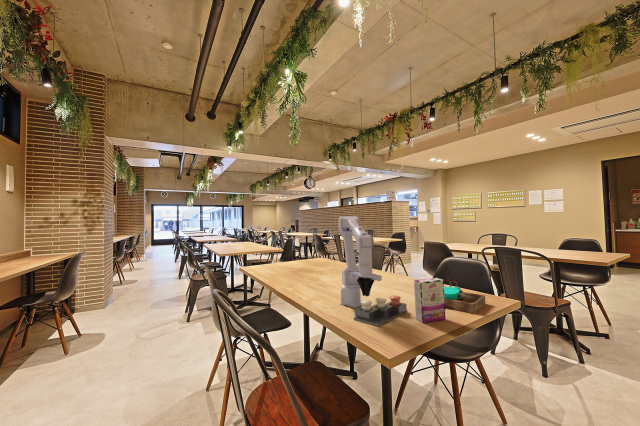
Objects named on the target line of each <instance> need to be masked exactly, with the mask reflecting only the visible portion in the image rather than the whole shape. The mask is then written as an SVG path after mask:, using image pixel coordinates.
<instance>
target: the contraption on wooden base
mask: <svg viewBox="0 0 640 426" xmlns="http://www.w3.org/2000/svg"><path fill="white" fill-rule="evenodd" d="M447 282H448V283H449V286H444V299H450V300H456V301H461V302H467V303H472V302H470V300H468V299H471V296H467V295H465V294H464V292H465V291H463V290H461V287H460V286H459V284H458V282H457V281H456V280H454V279H452V278H447ZM452 283H453V284H454V286H452ZM465 298H466V299H465ZM445 309H448V310H454V308H452V307H451V306H449V305H446V306H445Z"/></svg>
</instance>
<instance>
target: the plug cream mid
mask: <svg viewBox="0 0 640 426" xmlns="http://www.w3.org/2000/svg"><path fill="white" fill-rule="evenodd" d="M375 302H376V304H377V308H381V309H384V308H386V304H387V298H384V297H376V298H375Z"/></svg>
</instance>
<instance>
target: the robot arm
mask: <svg viewBox="0 0 640 426" xmlns="http://www.w3.org/2000/svg"><path fill="white" fill-rule="evenodd" d="M337 226H338V233H339V234H340V235H341V236H342V239H343V246H344V255H345V262H346V263H345V264H346V267H344V268H343V270H342V271H341V281H342V282H341V283H342V285H343V286H342V287H341V289H340V303H339V304H340V305H343V306H345V307H349V308H350V307H351V308H353V309H357V308H360V306H361V307H362V304H361V301H362V298H361V297H362V296H363V297H369V296H370V294H371V289H372V287H373V286H374V285H373V284H374V282H375V281H377V282H380V281H382V280H383V279H382V278H383V277H382V275H379V274H376V273H373V252H372V251H373V248H374V244H375V242H374V241H375V239H374V237H373V234H368V233H367V232H366V231H365V228H364V227H362V226H360V219H359V217H358V216H357V215H354V216H351V215H350V216H348V215H347V216H342V215H340V216H338V219H337ZM353 238H354V240H355V245H356V253H357V254H358V255H357V257H358V258H357V259H358V260H357V261H358V266H357V262H356V253H355V247H354V240H353ZM361 294H362V296H361Z"/></svg>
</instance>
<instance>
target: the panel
mask: <svg viewBox="0 0 640 426" xmlns="http://www.w3.org/2000/svg"><path fill="white" fill-rule="evenodd" d="M407 311H408V309H407V303H403V302H400V305H399V306H393V305H391V301H389V302H386V308H384V309H381V308H377V303H375V304H374V305H371V311H369V312H367V311H363V310H362V306H361V307H360V306H359V307H357V308H354V317H353V320H354V321H358V322H360V323H363V324H364V323H365V324H368V325H371V326H375V327H378V328H380V327H382V326H383V325H385V324H387V323H389V322H390V321H392V320H393V319H396V318H397V317H399V316H401V315H403V314H404V313H406V312H407Z"/></svg>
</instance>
